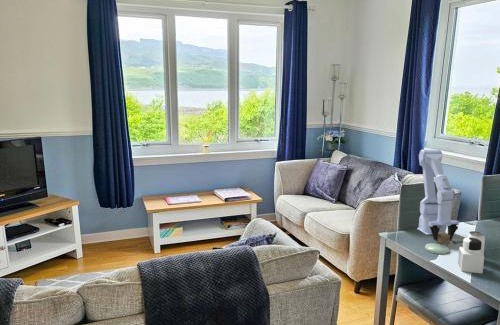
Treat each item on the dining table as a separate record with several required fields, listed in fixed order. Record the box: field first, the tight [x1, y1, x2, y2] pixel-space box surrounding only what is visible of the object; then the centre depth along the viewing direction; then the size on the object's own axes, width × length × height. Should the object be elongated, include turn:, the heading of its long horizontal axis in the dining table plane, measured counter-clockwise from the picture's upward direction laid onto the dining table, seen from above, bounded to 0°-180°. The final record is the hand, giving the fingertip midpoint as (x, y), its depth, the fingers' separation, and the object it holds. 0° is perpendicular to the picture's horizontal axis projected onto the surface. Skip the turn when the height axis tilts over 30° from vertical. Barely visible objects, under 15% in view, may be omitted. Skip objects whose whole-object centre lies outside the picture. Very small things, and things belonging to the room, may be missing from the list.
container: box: [457, 237, 485, 274], centre depth 154 cm, size 8×8×13 cm
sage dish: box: [424, 242, 450, 255], centre depth 175 cm, size 10×10×1 cm
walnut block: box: [435, 231, 451, 245], centre depth 183 cm, size 4×4×4 cm
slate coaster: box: [450, 232, 466, 244], centre depth 187 cm, size 9×9×1 cm
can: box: [467, 230, 486, 256], centre depth 163 cm, size 6×6×12 cm
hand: (442, 239), depth 183 cm, fingers open, 7 cm apart
